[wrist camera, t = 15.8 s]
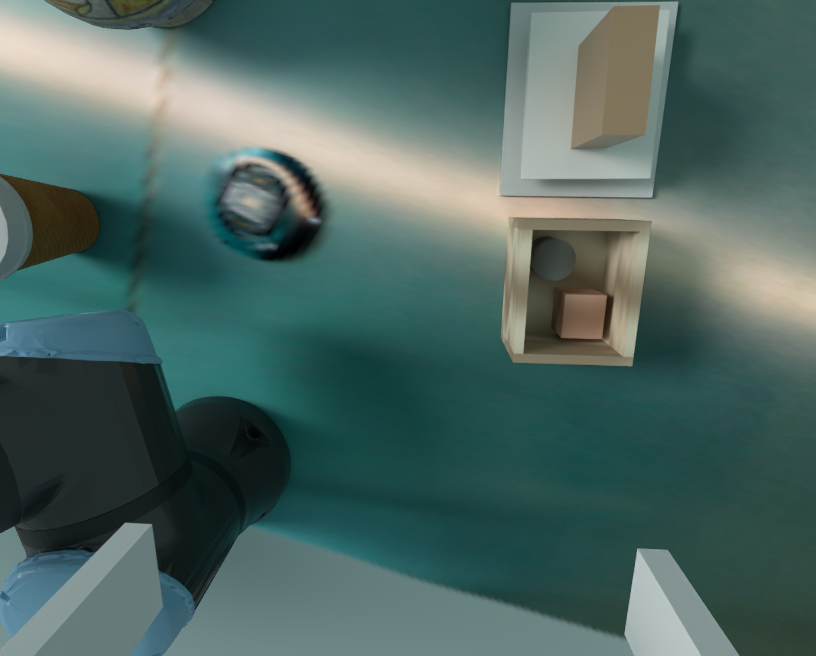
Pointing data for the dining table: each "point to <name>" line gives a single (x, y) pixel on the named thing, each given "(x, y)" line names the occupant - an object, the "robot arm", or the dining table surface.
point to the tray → (516, 102)
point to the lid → (593, 93)
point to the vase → (132, 12)
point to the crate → (573, 289)
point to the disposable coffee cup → (42, 223)
